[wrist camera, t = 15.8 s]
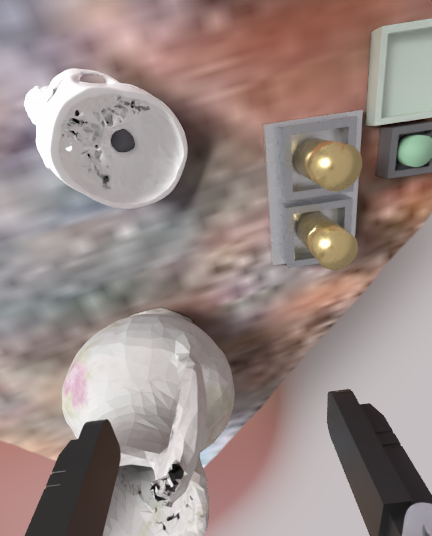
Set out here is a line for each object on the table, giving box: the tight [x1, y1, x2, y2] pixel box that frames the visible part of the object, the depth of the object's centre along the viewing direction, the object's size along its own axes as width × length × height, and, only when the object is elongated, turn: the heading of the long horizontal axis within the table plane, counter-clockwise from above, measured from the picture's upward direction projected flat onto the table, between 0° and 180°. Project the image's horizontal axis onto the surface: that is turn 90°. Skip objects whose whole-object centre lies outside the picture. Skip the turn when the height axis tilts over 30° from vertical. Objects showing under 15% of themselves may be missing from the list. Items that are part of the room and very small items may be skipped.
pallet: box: [262, 110, 363, 268], centre depth 35 cm, size 16×10×3 cm, turn 8°
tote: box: [365, 18, 432, 126], centre depth 31 cm, size 8×8×2 cm
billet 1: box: [295, 138, 362, 191], centre depth 30 cm, size 4×4×7 cm
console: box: [376, 120, 432, 179], centre depth 33 cm, size 5×5×2 cm
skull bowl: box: [24, 69, 188, 209], centre depth 30 cm, size 10×14×12 cm
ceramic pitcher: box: [62, 308, 235, 536], centre depth 33 cm, size 22×20×25 cm
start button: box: [396, 134, 432, 167], centre depth 32 cm, size 3×3×2 cm
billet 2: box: [297, 212, 358, 270], centre depth 34 cm, size 4×4×7 cm
